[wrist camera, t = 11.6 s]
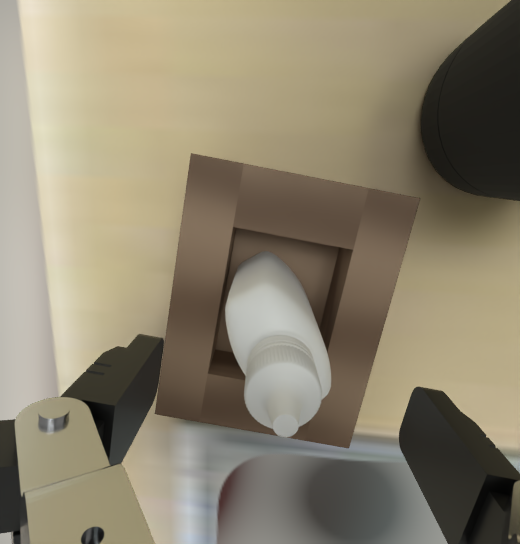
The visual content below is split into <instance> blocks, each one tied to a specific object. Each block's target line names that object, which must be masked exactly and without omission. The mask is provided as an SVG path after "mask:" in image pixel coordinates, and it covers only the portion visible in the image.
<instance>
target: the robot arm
mask: <svg viewBox="0 0 520 544" xmlns="http://www.w3.org/2000/svg"><path fill="white" fill-rule="evenodd" d="M163 347H164V340H163V338H158V337H153V336H147V335H142V334H139V335H138V336H137V337H136V338H135V339H134V340H133V341H132V343H131V344H130V345H129V346H128V347H127V348H124V347H119V346H117V347H115V348H113V349H111V350H109V351H106V352H104V353H103V354H102V355H101V356H100V357H99V358H98V359H97V360H96V361H95V362H94V364H92V365H91V366H90V367H89V368H88V369H87V370H86V372H84V373H83V374H82V375H81V376H80V377H79V378H78V379H77V380H76V381H75V382H74V383H73V384H72V385H71V386H70V387H69V388H68V389H67V390H66V391H65V392H64V393H63V395H62V396H61V397H55V398H49V399H44V400H41V401H38V402H35V403H33V404H31V405H29V406H28V407H26V408H25V409H23V410H22V411H21V412H20V413H19V414H18V416H17V417H16V419H14V420H2V421H0V533H7V532H11V538H12V544H155V542H154V540H153V537H152V535H151V532H150V530H149V527H148V525H147V522H146V520H145V517H144V515H143V512H142V510H141V508H140V505H139V503H138V500H137V498H136V495H135V493H134V490H133V488H132V485H131V483H130V480H129V478H128V475H127V473H126V471H125V468H124V467H123V465H122V464H121V463H122V461H123V459H124V457H125V455H126V453H127V451H128V449H129V447H130V446H131V444H132V442H133V440H134V438H135V436H136V434H137V432H138V430H139V428H140V427H141V425H142V423H143V421H144V419H145V417H146V415H147V413H148V411H149V410H150V408H151V406H152V404H153V401H154V399H155V396H156V392H157V388H158V383H159V376H160V368H161V361H162V354H163ZM399 443H400V448H401V451H402V453H403V455H404V457H405V459H406V461H407V463H408V465H409V467H410V469H411V471H412V473H413V475H414V477H415V479H416V481H417V482H418V485H419V487H420V489H421V491H422V493H423V495H424V497H425V499H426V500H427V503H428V505H429V506H430V509H431V511H432V513H433V515H434V517H435V519H436V521H437V523H438V524H439V526H440V528H441V531H442V533H443V535H444V537H445V538H446V541H447V543H448V544H520V473H519V472H518V471H517V470H516V469H515V468H514V467H513V465H512V464H511V463H510V462H509V461H508V460H507V459H506V457H505V456H504V455H503V454H502V453H501V452H500V450H499V449H497V448H495V445H494V444H493V442H492V441H491V440H490V439H489V438H488V437H486V434H485V433H484V432H483V431H482V430H481V429H480V427H479V426H478V425H477V424H476V423H475V422H474V421H473V420H471V419H470V418H469V417H467V416H466V415H465V414H463V413H462V412H461V411H460V410H459V409H458V408H457V407H456V406H455V404H454V403H453V402H452V401H451V400H450V399H449V397H448V396H447V395H446V394H445V393H444V392H443V391H439V390H434V389H428V388H423V387H416V388H415V389H414V390H413V392H412V394H411V397H410V400H409V403H408V406H407V409H406V412H405V415H404V418H403V421H402V425H401V428H400V432H399Z"/></svg>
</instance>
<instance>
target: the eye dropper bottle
mask: <svg viewBox="0 0 520 544" xmlns="http://www.w3.org/2000/svg"><path fill="white" fill-rule="evenodd" d="M225 319H226V326H227V332H228V336H229V340H230V344H231V347H232V350H233V353H234V355H235V358H236V360H237V362H238V364H239V366H240V368H241V369H242V371H243V373H244V374H245V376H246V378H245V388H244V400H245V404H246V407H247V408H248V411H249V412H250V414H251V415H252V417H254V419H256V420H257V422H260V424H263V425H264V426H267V427H269V428H272V429H273V430H274V432H275V433H276V434H277V435H278V436H281V437H291V436H293V435H294V434H295V433H296V432H297V430H298V427H300V426H302V425H303V424H306V423H307V422H309V420H311V419H312V417H314V415H315V414H316V413H317V411H318V410H319V409H318V408H319V407H320V404H321V400H322V399H323V398H324V397H325V396H327V395H328V393H329V391H330V388H331V369H330V362H329V358H328V354H327V350H326V347H325V344H324V341H323V338H322V336H321V333H320V330H319V328H318V325H317V322H316V320H315V317H314V314H313V312H312V309H311V306H310V304H309V301H308V298H307V296H306V293H305V291H304V289H303V287H302V285H301V283H300V281H299V280H298V278H297V277H296V275H295V274H294V273H293V271H292V270H291V269H290V268H289V267H288V266H287V265H286V264H285V263H284V262H283V261H282V260H281V259H280V258H279V257H277V256H276V255H275V254H273V253H271V252H268V251H264V252H261V253H259V254H257V255H255V256H253V257H251V258H249V259H248V260H246V261H244V262H242V263H241V264H240V265H239V266H238V269H237V271H236V274H235V277H234V280H233V283H232V285H231V288H230V291H229V295H228V299H227V302H226V306H225Z"/></svg>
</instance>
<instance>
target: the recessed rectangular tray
mask: <svg viewBox="0 0 520 544" xmlns="http://www.w3.org/2000/svg"><path fill="white" fill-rule="evenodd" d="M419 201H420V198H416V197H411V196H406V195H401V194H396V193H390V192H385V191H380V190H375V189H370V188H365V187H360V186H355V185H350V184H345V183H340V182H334V181H329V180H324V179H319V178H314V177H309V176H304V175H299V174H294V173H289V172H283V171H278V170H273V169H268V168H263V167H258V166H253V165H248V164H243V163H238V162H232V161H227V160H222V159H217V158H212V157H207V156H202V155H197V154H192V153H191V157H190V164H189V172H188V179H187V186H186V193H185V200H184V208H183V215H182V222H181V229H180V236H179V244H178V251H177V258H176V265H175V273H174V280H173V287H172V294H171V301H170V309H169V316H168V323H167V330H166V337H165V345H164V352H163V359H162V366H161V373H160V381H159V388H158V395H157V402H156V410H155V414H157V415H163V416H169V417H174V418H180V419H186V420H191V421H197V422H203V423H208V424H214V425H220V426H225V427H231V428H237V429H242V430H248V431H254V432H259V433H265V434H271V435H276V436H278V435H277V434H276V433H275V432H274V430H273V429H272V428H269V427H267V426H264V425H263V424H260V422H257V420H256V419H254V417H252V415H251V414H250V412H249V411H248V408H247V407H246V404H245V400H244V388H245V378H246V376H245V374H244V373H243V371H242V369H241V368H240V366H239V364H238V362H237V360H236V358H235V355H234V353H233V350H232V347H231V344H230V340H229V336H228V332H227V326H226V319H225V306H226V302H227V299H228V295H229V291H230V288H231V285H232V283H233V280H234V277H235V274H236V271H237V269H238V266H239V265H240V264H241V263H242V262H244V261H246V260H248V259H249V258H251V257H253V256H255V255H257V254H259V253H261V252H264V251H268V252H271V253H273V254H275V255H276V256H277V257H279V258H280V259H281V260H282V261H283V262H284V263H285V264H286V265H287V266H288V267H289V268H290V269H291V270H292V271H293V273H294V274H295V275H296V277H297V278H298V280H299V281H300V283H301V285H302V287H303V289H304V291H305V293H306V296H307V298H308V301H309V304H310V306H311V309H312V312H313V314H314V317H315V320H316V322H317V325H318V328H319V330H320V333H321V336H322V338H323V341H324V344H325V347H326V350H327V354H328V358H329V362H330V369H331V388H330V391H329V393H328V395H327V396H325V397H324V398H323V399H322V400H321V404H320V407H319V408H318V409H319V410H318V411H317V413H316V414H315V415H314V417H312V419H311V420H309V422H307V423H306V424H303V425H302V426H300V427H298V430H297V432H296V433H295V434H294V435H293V436H291V437H287V438H293V439H299V440H304V441H310V442H316V443H321V444H327V445H333V446H338V447H344V448H349V446H350V442H351V439H352V435H353V432H354V428H355V425H356V421H357V418H358V414H359V411H360V407H361V404H362V400H363V397H364V393H365V390H366V386H367V383H368V379H369V376H370V372H371V369H372V366H373V362H374V359H375V355H376V352H377V348H378V345H379V341H380V338H381V334H382V331H383V327H384V324H385V320H386V317H387V313H388V310H389V306H390V303H391V299H392V296H393V292H394V289H395V285H396V282H397V278H398V275H399V271H400V268H401V264H402V261H403V257H404V254H405V250H406V247H407V243H408V240H409V236H410V233H411V229H412V226H413V222H414V219H415V215H416V212H417V208H418V205H419Z"/></svg>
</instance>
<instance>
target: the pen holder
mask: <svg viewBox="0 0 520 544" xmlns="http://www.w3.org/2000/svg"><path fill="white" fill-rule="evenodd" d="M421 132H422V139H423V143H424V147H425V150H426V153H427V155H428V157H429V160H430V161H431V163H432V165H433V166H434V168H435V169H436V170H437V172H438V173H439V174H440V175H441V176H442V177H443V178H444V179H445V180H446V181H447V182H449V183H450V184H452V185H453V186H455V187H456V188H458V189H461V190H463V191H465V192H468V193H471V194H475V195H480V196H487V197H493V198H501V199H509V200H517V201H520V0H511V1H510V2H509V3H508V4H506V5H505V6H504V7H503V8H502V9H500V10H499V11H498V12H497V13H496V14H495V15H493V16H492V17H491V18H490V19H489V20H487V21H486V22H485V23H484V24H483V25H482V26H481V27H480V28H479V29H477V30H476V31H475V32H474V33H473V34H472V35H470V36H469V37H468V38H467V39H466V40H465V41H464V42H463V43H462V44H460V45H459V46H458V47H457V48H456V49H455V50H454V51H453V52H452V53H451V54H450V55H449V56H448V57H447V59H446V60H445V61H444V62H443V63H442V65H441V66H440V68H439V69H438V71H437V72H436V74H435V75H434V77H433V79H432V81H431V83H430V85H429V88H428V90H427V93H426V96H425V99H424V104H423V108H422V116H421Z"/></svg>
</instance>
